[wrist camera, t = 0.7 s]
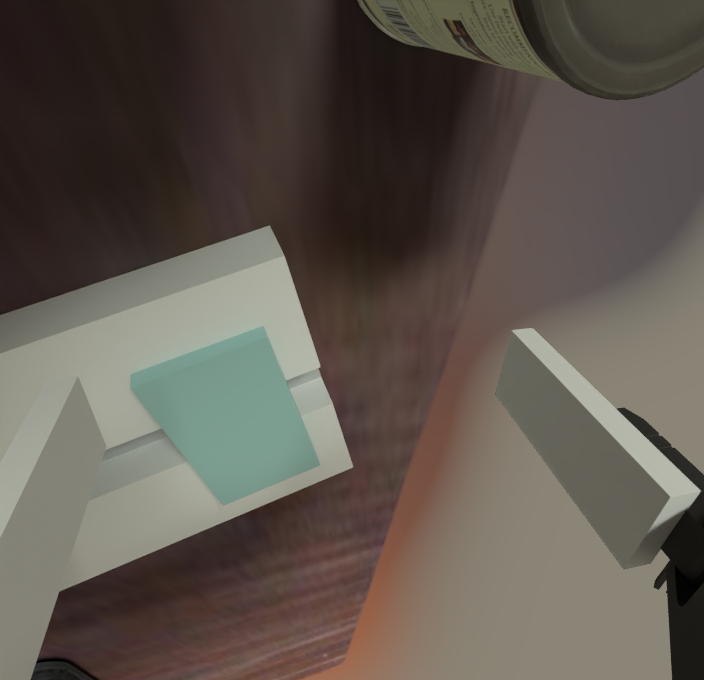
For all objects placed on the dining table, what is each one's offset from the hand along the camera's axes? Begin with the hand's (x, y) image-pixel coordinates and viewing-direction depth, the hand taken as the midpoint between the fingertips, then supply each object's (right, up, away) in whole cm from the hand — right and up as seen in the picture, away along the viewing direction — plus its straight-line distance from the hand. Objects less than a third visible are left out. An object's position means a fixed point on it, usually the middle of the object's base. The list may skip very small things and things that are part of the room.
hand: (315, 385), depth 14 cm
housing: (-15, -4, +19) cm, 24 cm away
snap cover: (-7, -4, +17) cm, 19 cm away
